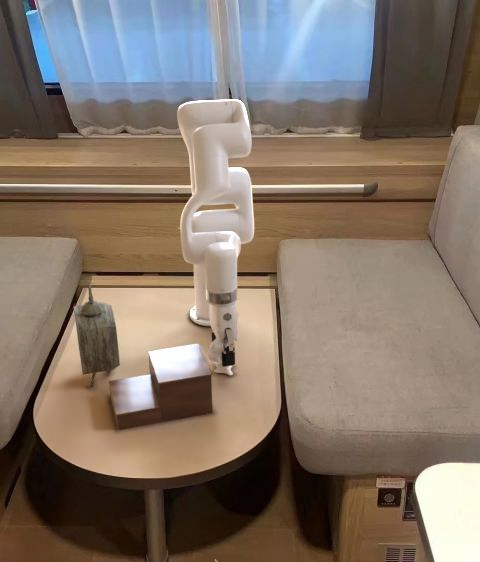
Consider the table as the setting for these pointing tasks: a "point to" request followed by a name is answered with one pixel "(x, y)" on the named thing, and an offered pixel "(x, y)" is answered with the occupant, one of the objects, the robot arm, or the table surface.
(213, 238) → the robot arm
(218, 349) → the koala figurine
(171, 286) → the table surface
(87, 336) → the spike-topped wooden block
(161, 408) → the step shelf
